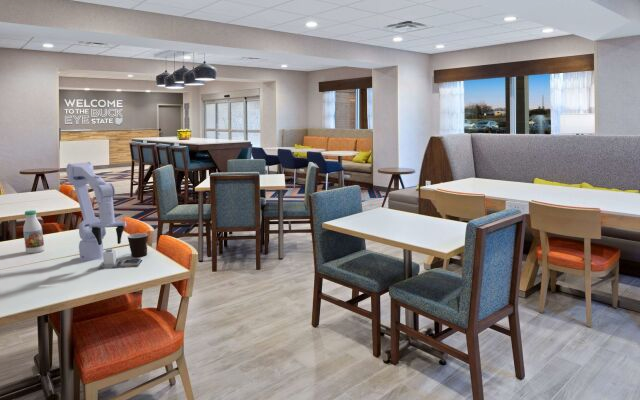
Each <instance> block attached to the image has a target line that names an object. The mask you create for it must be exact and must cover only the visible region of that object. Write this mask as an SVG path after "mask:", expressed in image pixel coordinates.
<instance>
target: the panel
mask: <svg viewBox="0 0 640 400" xmlns="http://www.w3.org/2000/svg"><path fill="white" fill-rule="evenodd" d="M141 258H142V257H139V258H128V259H124V260H121V259H116V261H117V262H116V263H115V264H107V265H104V260H103V261H102V262H101V263H100V264H99V267H98V269H97V270H98V271H99V270H113V269H114V270H115V269H128V268H129V269H130V268H138V267H139V266H140V265H141V263H142V262H143V259H141Z"/></svg>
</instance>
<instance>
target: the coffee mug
mask: <svg viewBox="0 0 640 400" xmlns="http://www.w3.org/2000/svg"><path fill="white" fill-rule="evenodd" d="M148 237H149V234H148V233H145V232H144V233H143V232H140V233H138V232H137V233H132V234H129V235H127V240H128V245H129V249H130V253H131V258H133V259H140V258H143V257H146V256H147V255H148Z"/></svg>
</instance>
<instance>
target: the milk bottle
mask: <svg viewBox="0 0 640 400" xmlns="http://www.w3.org/2000/svg"><path fill="white" fill-rule="evenodd" d="M24 215H25V221H24V224H23V229H22V231H23V239H24V240H23V241H24V246H25V247H24V248H25V252H26V254H38V253H41V252H44V251H45V242H44V241H45V240H44V235H43V234H44V233H43V227H42V224H41V223H40V221H39V220H38V218H37V211H36V210H34V209H33V210H26V211H25V212H24Z"/></svg>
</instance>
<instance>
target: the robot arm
mask: <svg viewBox="0 0 640 400" xmlns="http://www.w3.org/2000/svg"><path fill="white" fill-rule="evenodd" d="M65 168H66V170H65V171H66V175H67V179H68V183H70V184H71V185H73V187H74V190H75V193H76V198H77V200H78V204H79V208H80V212H81V215H82V219H83V220H82V221H81V222H80V223H79V224H78V234H79V238H80V239H81V240H80V241H79V243H78V250H79V251H78V253H79V261H80V262H81V261H97V260H98V261H99V260H103V253H104V252H105V250H104V243H103V239H104V237H105V236H106V234H107V228H115V232H116V238H117V239H116V240H117V245H120V244H121V242H122V236H123V232H124V230H125V228H126V227H127V221H125V220H124V221H121V220H120V221H119V220H118V221H116V219H115V208H114V197H115V193H116V191H115V187H114V185H113V184H112V183H111V182H110V183H108V182H106V181H105V179H103V178H102V177H101V176H100V175H96V173H95V171H94V168H95V167H94V165H93V164H92V162H90V161H87V162H77V163H74V162H73V163H68V164H67V165H66V167H65ZM87 184H88V185H89V187H90V188H91V189H92V190H93V191H94V196H95V198H96V203H97V204H98V213H99V214H98V215H99V218H98V217H97V216H96V215H95V212H94V208H93V204H92V201H91V198H90V193H89V189H88V187H87Z"/></svg>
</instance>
